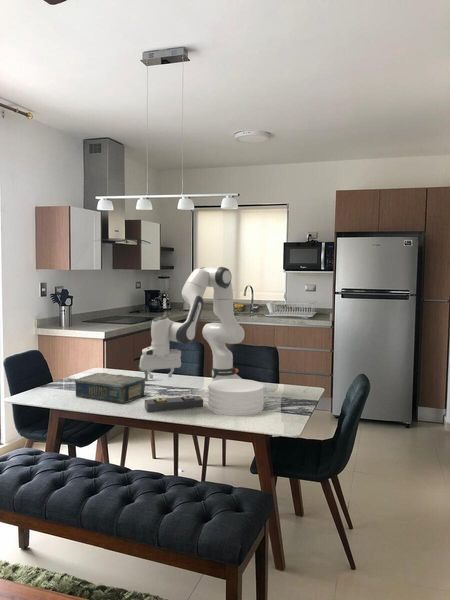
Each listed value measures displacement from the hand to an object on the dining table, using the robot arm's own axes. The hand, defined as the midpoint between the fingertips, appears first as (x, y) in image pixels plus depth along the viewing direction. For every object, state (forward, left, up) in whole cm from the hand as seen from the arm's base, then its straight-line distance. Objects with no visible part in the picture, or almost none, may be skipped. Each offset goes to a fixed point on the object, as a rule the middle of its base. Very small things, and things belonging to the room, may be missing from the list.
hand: (160, 377), depth 240 cm
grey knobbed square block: (-14, 0, -16) cm, 21 cm away
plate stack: (-36, +8, -16) cm, 41 cm away
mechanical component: (-4, -62, -16) cm, 64 cm away
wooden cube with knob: (0, 0, -16) cm, 16 cm away
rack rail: (-7, 0, -16) cm, 17 cm away
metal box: (+21, -32, -16) cm, 41 cm away
